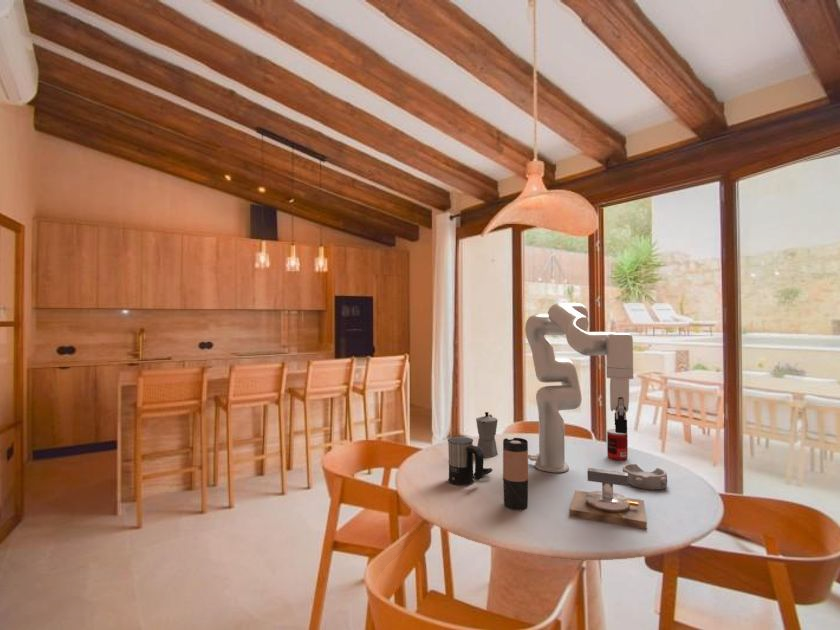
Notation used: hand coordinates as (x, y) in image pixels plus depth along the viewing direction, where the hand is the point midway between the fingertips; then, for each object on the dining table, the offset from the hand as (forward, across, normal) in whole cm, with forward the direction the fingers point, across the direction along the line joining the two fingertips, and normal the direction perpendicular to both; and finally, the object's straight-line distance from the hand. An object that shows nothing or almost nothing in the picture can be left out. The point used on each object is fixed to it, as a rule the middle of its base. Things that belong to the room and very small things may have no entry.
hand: (620, 429), depth 136 cm
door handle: (+22, +4, -3) cm, 22 cm away
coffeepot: (+23, -39, -52) cm, 69 cm away
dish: (+24, -25, +8) cm, 36 cm away
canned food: (+24, -54, 0) cm, 58 cm away
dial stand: (+24, +4, -4) cm, 25 cm away
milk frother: (+24, -6, -50) cm, 55 cm away
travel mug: (+24, +11, -30) cm, 40 cm away
